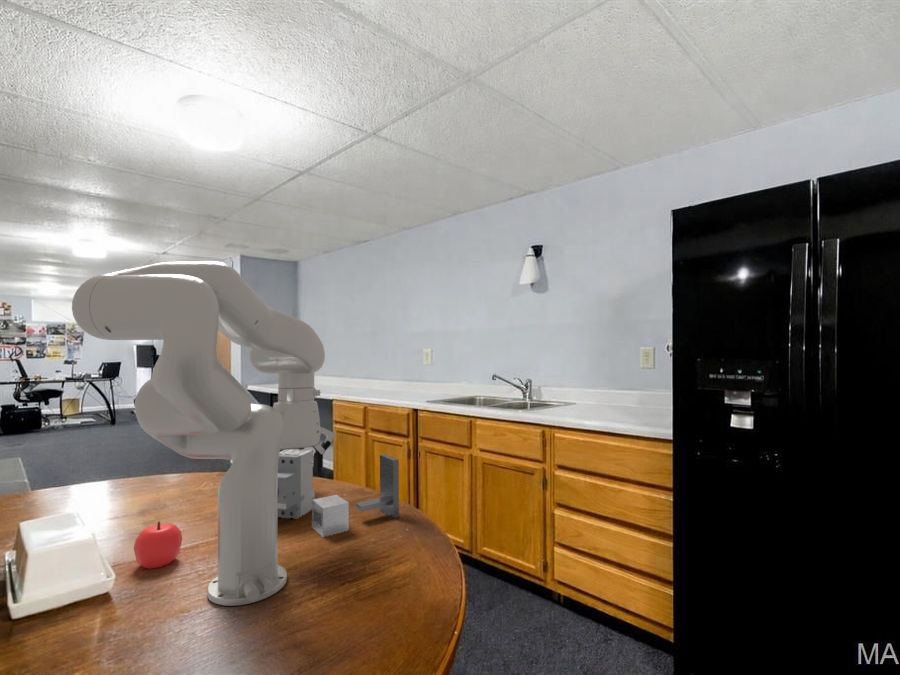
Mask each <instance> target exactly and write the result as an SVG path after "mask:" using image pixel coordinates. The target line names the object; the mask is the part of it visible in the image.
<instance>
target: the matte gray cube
mask: <svg viewBox="0 0 900 675" xmlns="http://www.w3.org/2000/svg"><path fill="white" fill-rule="evenodd" d="M349 503H350V502H348V501H347V500H345V499H344V498H342V497H341V496H340V495H338V494H333V495H328V496H323V497H320V498H315V499H313V498H312V510H311V528H312V529H313V530H314V531H315V532H316V533H318V535H320V536H321V537H322V538H326V537H329V535H330V536H334V535H337V533H338V534H341V532H342V533H344V531H345V532H348V530H349V526H350V524H349V522H350V521H349V520H350V518H349V517H350V513H349V506H350V505H349ZM349 531H350V530H349ZM333 534H334V535H333ZM325 536H326V537H325Z"/></svg>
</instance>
